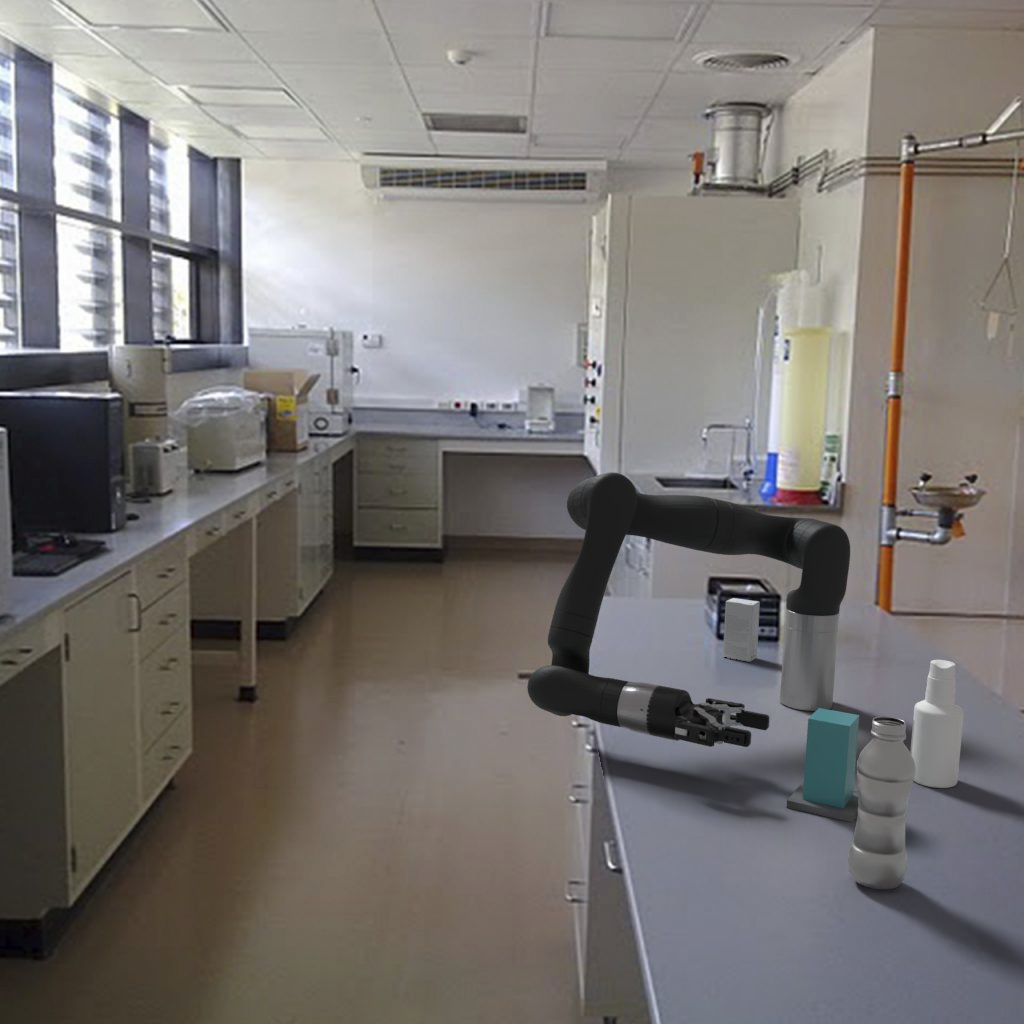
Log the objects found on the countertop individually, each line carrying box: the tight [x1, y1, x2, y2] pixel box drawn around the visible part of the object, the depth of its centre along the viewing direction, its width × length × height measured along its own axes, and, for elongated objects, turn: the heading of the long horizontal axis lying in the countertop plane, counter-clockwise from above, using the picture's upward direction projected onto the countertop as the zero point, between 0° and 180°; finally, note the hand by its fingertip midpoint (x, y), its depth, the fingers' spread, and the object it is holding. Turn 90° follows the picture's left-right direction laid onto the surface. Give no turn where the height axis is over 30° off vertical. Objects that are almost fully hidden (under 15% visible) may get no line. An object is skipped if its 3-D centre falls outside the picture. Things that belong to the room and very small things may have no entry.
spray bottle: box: [909, 659, 964, 789], centre depth 165 cm, size 7×7×18 cm
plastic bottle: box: [847, 716, 916, 890], centre depth 131 cm, size 6×7×20 cm
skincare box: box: [722, 597, 761, 663], centre depth 230 cm, size 6×4×12 cm
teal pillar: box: [803, 708, 860, 808], centre depth 155 cm, size 6×6×12 cm
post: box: [786, 780, 859, 823], centre depth 156 cm, size 9×9×8 cm
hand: (759, 731), depth 160 cm, fingers open, 8 cm apart
